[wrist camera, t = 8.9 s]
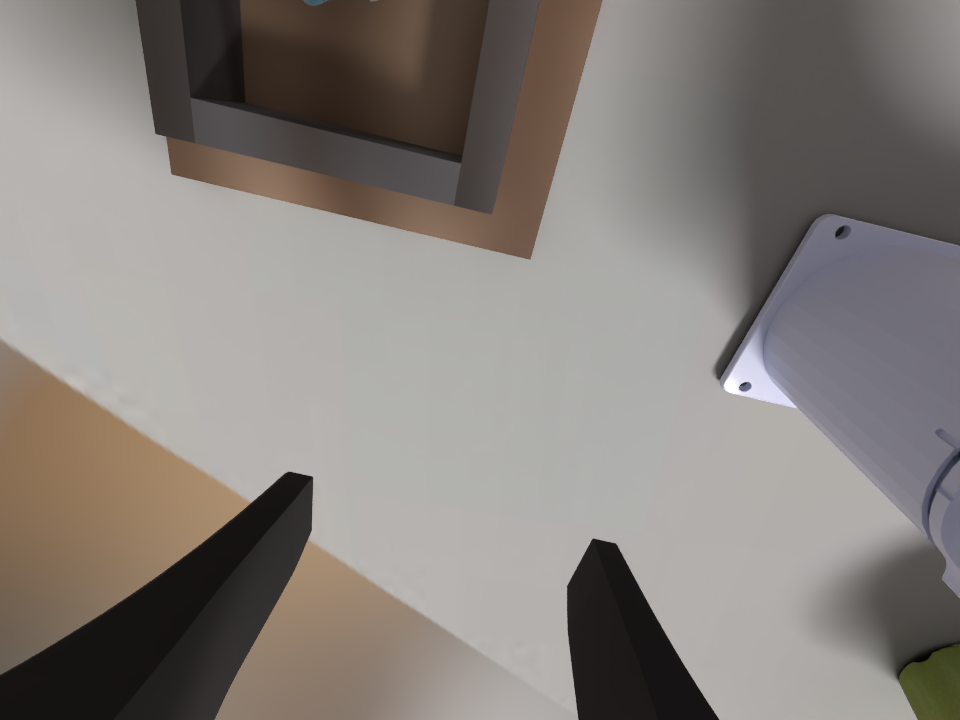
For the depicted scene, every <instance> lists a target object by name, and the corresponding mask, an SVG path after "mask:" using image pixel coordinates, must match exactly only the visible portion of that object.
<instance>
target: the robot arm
mask: <svg viewBox="0 0 960 720" xmlns="http://www.w3.org/2000/svg"><path fill="white" fill-rule="evenodd" d="M841 226H844V230H843V232H842V233H841V234H840V235H839V236H837V237H835V233H836V231H837V230H838V228H839V227H841ZM744 382H747V384H746V385H745V386H743V387H739V386H740V385H741V384H742V383H744ZM720 385H721V387H722V388H723V389H724V390H725V391H726V392H728V393H732V394H736V395H741V396H745V397H749V398H754V399H758V400H762V401H767V402H771V403H775V404H780V405H784V406H788V407H793V408H797V409H799V410H800V411H801V412H802V413H803V414H804V415H805V416H806V417H807V418H808V419H809V420H810V421H811V422H812V423H813V424H814V425H815V426H816V427H817V428H818V429H819V430H820V431H821V432H822V433H823V434H824V435H825V436H826V437H827V438H828V439H829V440H830V441H831V442H832V443H833V444H834V445H835V446H836V447H837V448H838V449H839V450H840V451H841V452H842V453H843V454H844V455H845V456H846V457H847V458H848V459H849V460H850V461H851V462H852V463H853V464H854V465H855V466H856V467H857V468H858V469H859V470H860V471H861V472H862V473H863V474H864V475H865V476H866V477H867V478H868V479H869V480H870V481H871V482H872V483H873V484H874V485H875V486H876V487H877V488H878V489H879V490H880V491H881V492H882V493H883V494H884V495H885V496H886V497H887V498H888V499H889V500H890V501H891V502H892V503H893V504H894V505H895V506H896V507H897V508H898V509H899V510H900V511H901V512H902V513H903V514H904V515H905V516H906V517H907V518H908V519H909V520H910V521H911V522H912V523H913V524H914V525H915V526H916V527H917V528H918V529H919V530H920V531H921V532H922V533H923V534H924V535H925V536H926V537H927V538H928V539H929V540H930V541H931V542H932V543H933V544H934V545H935V546H936V547H937V548H938V549H939V550H940V551H941V553H942V554H943V556H944V557H945V559H946V570H945V572H944V574H943V576H942V580H943V581H944V582H945V583H946V584H947V585H948V587H949V588H950V589H951V590H952V591H953V592H954V593H955V594H956V595H957V596H958V597H959V598H960V246H959V245H955V244H951V243H947V242H943V241H939V240H935V239H931V238H927V237H923V236H919V235H915V234H911V233H907V232H903V231H899V230H895V229H891V228H887V227H883V226H879V225H875V224H871V223H867V222H863V221H859V220H854V219H850V218H846V217H842V216H838V215H834V214H825V215H822V216H820V217H819V218H817V219H816V220H815V221H814V222H813V224H812V225H811V227H810V228H809V230H808V232H807V233H806V235H805V237H804V238H803V240H802V242H801V243H800V245H799V247H798V249H797V250H796V252H795V254H794V255H793V257H792V259H791V260H790V262H789V264H788V265H787V267H786V269H785V270H784V272H783V274H782V276H781V277H780V279H779V281H778V282H777V284H776V286H775V287H774V289H773V291H772V292H771V294H770V296H769V298H768V299H767V301H766V303H765V304H764V306H763V308H762V309H761V311H760V313H759V314H758V316H757V318H756V319H755V321H754V323H753V325H752V326H751V328H750V330H749V331H748V333H747V335H746V336H745V338H744V340H743V341H742V343H741V345H740V347H739V348H738V350H737V352H736V353H735V355H734V357H733V358H732V360H731V362H730V363H729V365H728V367H727V368H726V370H725V372H724V374H723V375H722V377H721V379H720ZM312 496H313V477H311V476H307V475H302V474H298V473H293V472H287V473H285V474H284V475H283V476H282V477H280V478H279V479H278V480H277V481H276V482H275V483H274V484H273V485H271V486H270V487H269V488H268V489H267V490H266V491H265V492H264V493H262V494H261V495H260V496H259V497H258V498H257V499H256V500H254V501H253V502H252V503H251V504H250V505H249V506H247V507H246V508H245V509H244V510H243V511H242V512H240V513H239V514H238V515H237V516H235V517H234V518H233V519H232V520H230V521H229V522H228V523H227V524H226V525H224V526H223V527H222V528H221V529H219V530H218V531H217V532H216V533H214V534H213V535H212V536H211V537H210V538H208V539H207V540H206V541H204V542H203V543H202V544H201V545H199V546H198V547H197V548H195V549H194V550H193V551H191V552H190V553H189V554H187V555H186V556H184V557H183V558H182V559H181V560H179V561H178V562H176V563H175V564H174V565H172V566H171V567H170V568H168V569H167V570H166V571H165V572H163V573H162V574H160V575H159V576H158V577H156V578H155V579H153V580H152V581H150V582H149V583H147V584H146V585H145V586H143V587H142V588H140V589H139V590H137V591H136V592H135V593H133V594H131V595H130V596H129V597H127V598H126V599H124V600H123V601H121V602H119V603H118V604H117V605H115V606H114V607H112V608H110V609H109V610H107V611H106V612H104V613H103V614H101V615H100V616H98V617H97V618H95V619H93V620H92V621H90V622H89V623H87V624H85V625H84V626H82V627H81V628H79V629H77V630H76V631H74V632H73V633H71V634H69V635H68V636H66V637H64V638H63V639H61V640H60V641H58V642H56V643H55V644H53V645H51V646H50V647H48V648H46V649H45V650H43V651H41V652H40V653H38V654H36V655H35V656H33V657H31V658H29V659H28V660H26V661H24V662H23V663H21V664H19V665H17V666H16V667H14V668H12V669H10V670H8V671H7V672H5V673H3V674H1V675H0V720H214V719H215V717H216V715H217V713H218V711H219V709H220V707H221V704H222V702H223V700H224V698H225V696H226V694H227V692H228V689H229V688H230V686H231V684H232V682H233V680H234V678H235V676H236V674H237V672H238V670H239V668H240V667H241V665H242V663H243V662H244V659H245V658H246V656H247V654H248V653H249V651H250V649H251V647H252V646H253V644H254V642H255V640H256V638H257V637H258V635H259V633H260V631H261V629H262V628H263V626H264V624H265V622H266V621H267V619H268V617H269V615H270V613H271V612H272V610H273V608H274V606H275V605H276V603H277V601H278V599H279V597H280V596H281V594H282V592H283V590H284V588H285V586H286V585H287V583H288V581H289V579H290V577H291V576H292V574H293V572H294V570H295V568H296V566H297V563H298V561H299V559H300V557H301V554H302V552H303V550H304V547H305V545H306V543H307V540H308V538H309V535H310V533H311V531H312ZM567 617H568V636H569V645H570V654H571V662H572V671H573V679H574V687H575V695H576V703H577V711H578V719H579V720H719V719H718V717H717V716H716V714H715V713H714V711H713V710H712V708H711V707H710V705H709V704H708V702H707V701H706V699H705V697H704V696H703V694H702V693H701V691H700V690H699V688H698V687H697V685H696V683H695V682H694V680H693V679H692V677H691V675H690V674H689V672H688V671H687V669H686V667H685V666H684V664H683V663H682V661H681V659H680V658H679V656H678V654H677V653H676V651H675V649H674V648H673V646H672V644H671V642H670V641H669V639H668V637H667V635H666V634H665V632H664V630H663V629H662V627H661V625H660V623H659V622H658V620H657V618H656V616H655V615H654V613H653V611H652V609H651V607H650V606H649V604H648V602H647V600H646V598H645V596H644V595H643V593H642V591H641V589H640V587H639V585H638V584H637V582H636V580H635V578H634V576H633V574H632V572H631V570H630V569H629V567H628V565H627V563H626V561H625V559H624V557H623V555H622V553H621V552H620V550H619V548H618V546H617V545H616V544H615V543H611V542H606V541H602V540H597V539H592V541H591V543H590V545H589V547H588V548H587V550H586V552H585V554H584V556H583V558H582V560H581V561H580V563H579V565H578V567H577V569H576V571H575V573H574V574H573V576H572V578H571V580H570V582H569V584H568V586H567Z"/></svg>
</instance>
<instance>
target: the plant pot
mask: <svg viewBox="0 0 960 720" xmlns="http://www.w3.org/2000/svg"><path fill="white" fill-rule="evenodd" d="M899 682H900V685H901V687H902V689H903V691H904V693H905V695H906V697H907V699H908V701H909V703H910V705H911V707H912V709H913V711H914V713H915V715H916V717H917V719H918V720H960V646H951V647H946V648H942V649H940V650H939V651H935V652H933V653H932V654H931V656H930V658H929V659H927V660H926V661H924V662H921V663H916V662H912V663H910V664H908V665H907V666H906V667H905V668H904V669H903V670H902V672H901V674H900V676H899Z"/></svg>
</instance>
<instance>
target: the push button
mask: <svg viewBox="0 0 960 720" xmlns="http://www.w3.org/2000/svg"><path fill="white" fill-rule="evenodd" d="M303 1H304V2H305V3H307V4H308V5H311V6H316V5H320V4H322V3H324V2H326V1H328V0H303ZM370 1H371V2H373V1H378V0H370Z"/></svg>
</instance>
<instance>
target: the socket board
mask: <svg viewBox="0 0 960 720" xmlns="http://www.w3.org/2000/svg"><path fill="white" fill-rule="evenodd" d="M601 4H602V0H378V1H373V2H371V1H370V0H328V1H326V2H324V3H322V4H320V5H316V6H311V5H308V4H307V3H305V2H304V1H303V0H136V6H137V12H138V19H139V26H140V33H141V39H142V46H143V53H144V59H145V66H146V73H147V80H148V86H149V93H150V100H151V106H152V113H153V120H154V127H155V133H156V134H158V135H162V136H166V137H167V144H168V152H169V159H170V166H171V173H172V175H176V176H181V177H185V178H189V179H193V180H198V181H202V182H206V183H210V184H214V185H219V186H223V187H227V188H231V189H235V190H240V191H244V192H248V193H252V194H256V195H261V196H265V197H269V198H273V199H277V200H282V201H286V202H290V203H294V204H298V205H303V206H307V207H311V208H315V209H319V210H324V211H328V212H332V213H336V214H341V215H345V216H349V217H353V218H357V219H362V220H366V221H370V222H374V223H378V224H383V225H387V226H391V227H395V228H399V229H404V230H408V231H412V232H416V233H420V234H425V235H429V236H433V237H437V238H441V239H446V240H450V241H454V242H458V243H462V244H467V245H471V246H475V247H479V248H484V249H488V250H492V251H496V252H500V253H505V254H509V255H513V256H517V257H521V258H526V259H531V255H532V251H533V248H534V244H535V241H536V237H537V233H538V230H539V226H540V223H541V219H542V215H543V212H544V208H545V205H546V201H547V198H548V194H549V190H550V187H551V183H552V180H553V176H554V172H555V169H556V165H557V162H558V158H559V154H560V151H561V147H562V144H563V140H564V137H565V133H566V129H567V126H568V122H569V119H570V115H571V111H572V108H573V104H574V101H575V97H576V93H577V90H578V86H579V83H580V79H581V76H582V72H583V68H584V65H585V61H586V58H587V54H588V50H589V47H590V43H591V40H592V36H593V32H594V29H595V25H596V22H597V18H598V14H599V11H600V7H601Z"/></svg>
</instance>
